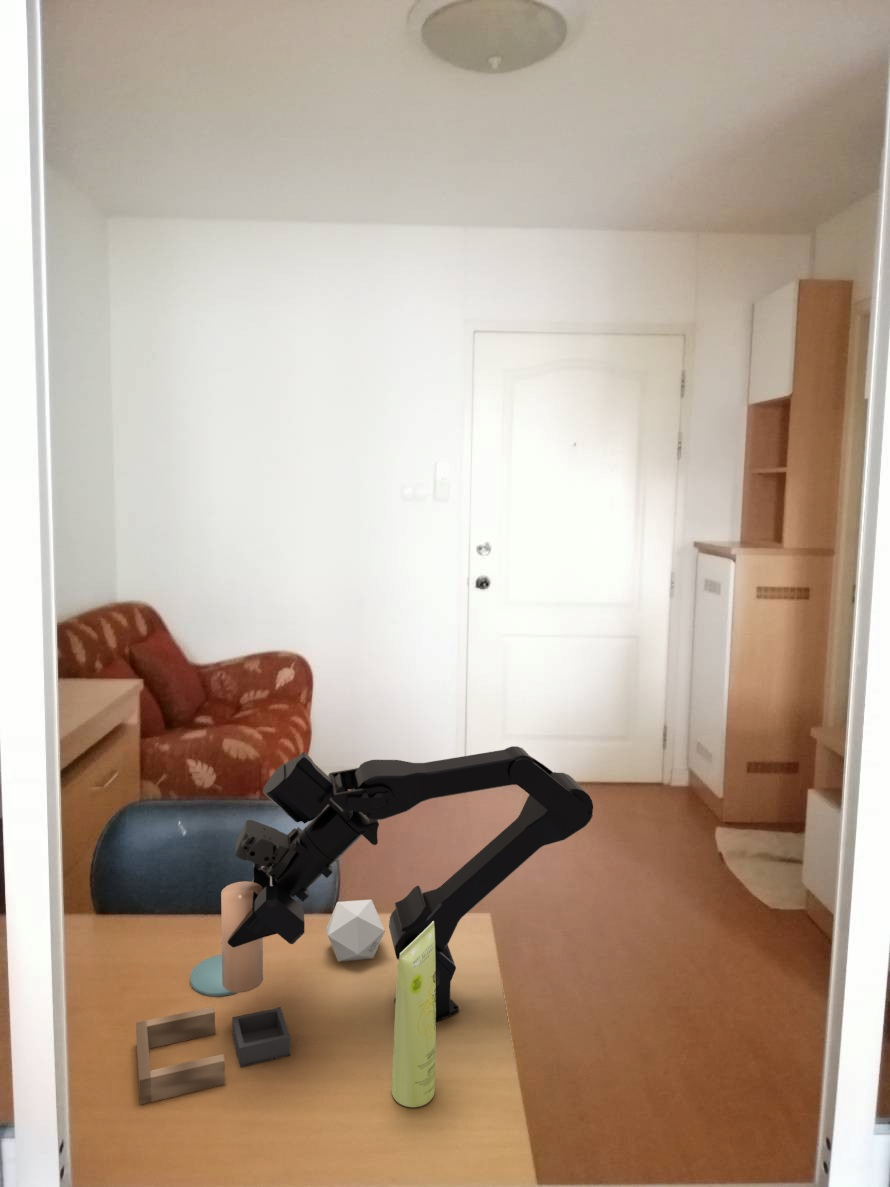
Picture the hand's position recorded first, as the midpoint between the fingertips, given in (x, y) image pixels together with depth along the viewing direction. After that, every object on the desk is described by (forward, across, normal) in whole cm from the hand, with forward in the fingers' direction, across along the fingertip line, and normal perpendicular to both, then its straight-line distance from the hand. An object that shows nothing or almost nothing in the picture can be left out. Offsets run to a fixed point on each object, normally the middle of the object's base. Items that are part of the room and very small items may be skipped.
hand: (231, 932), depth 104 cm
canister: (+4, 0, +6) cm, 7 cm away
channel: (+13, +6, +6) cm, 15 cm away
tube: (-5, +15, +24) cm, 29 cm away
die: (-3, -14, +21) cm, 26 cm away
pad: (+10, -11, +8) cm, 17 cm away
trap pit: (+7, +4, +12) cm, 14 cm away
